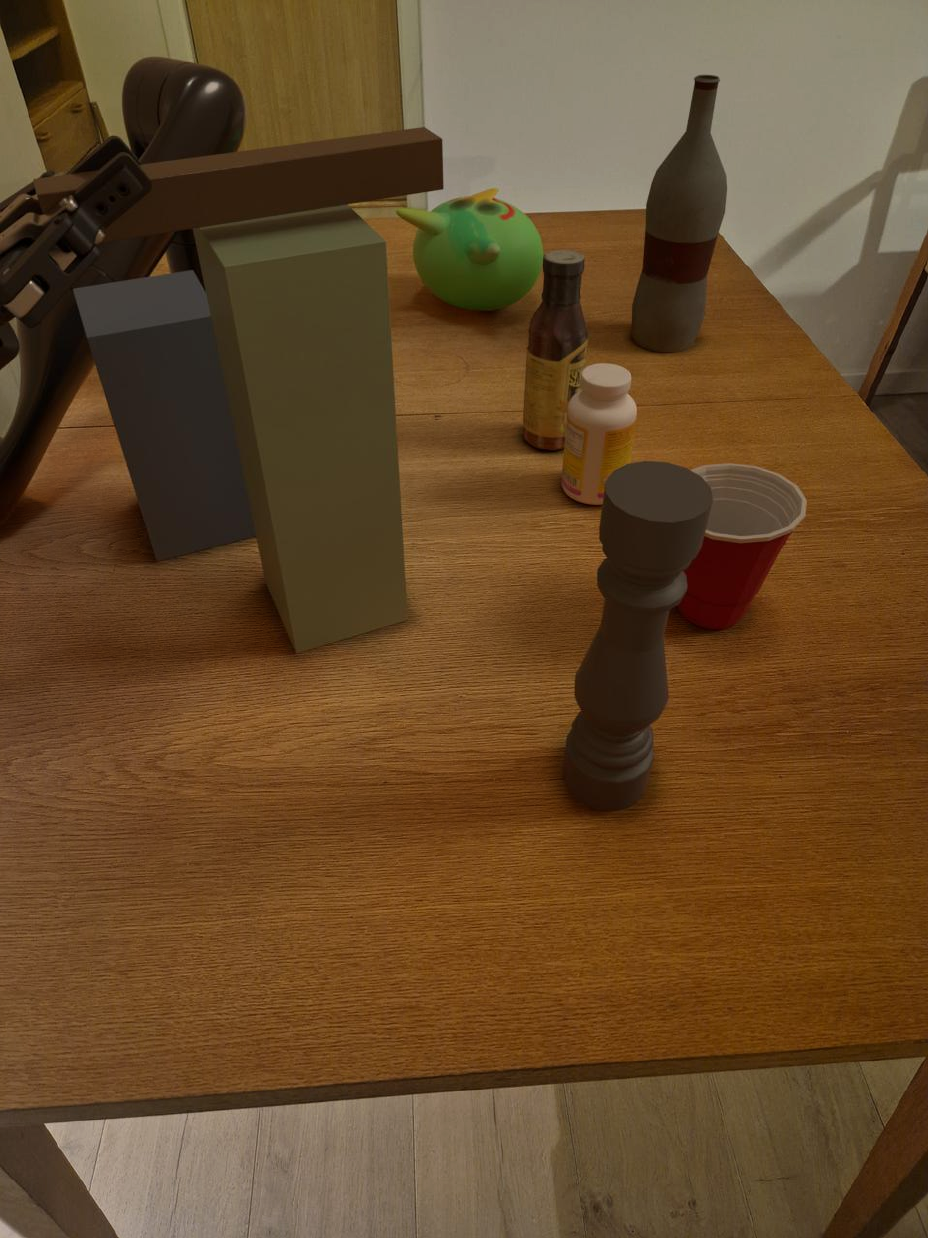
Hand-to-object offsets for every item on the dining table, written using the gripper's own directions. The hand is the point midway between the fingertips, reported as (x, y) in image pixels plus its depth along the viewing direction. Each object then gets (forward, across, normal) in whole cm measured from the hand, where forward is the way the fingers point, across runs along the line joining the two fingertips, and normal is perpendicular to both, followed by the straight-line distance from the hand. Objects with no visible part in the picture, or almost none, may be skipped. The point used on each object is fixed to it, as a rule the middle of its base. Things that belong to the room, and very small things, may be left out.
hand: (134, 159), depth 49 cm
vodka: (+37, -32, -64) cm, 80 cm away
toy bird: (+21, -52, -55) cm, 78 cm away
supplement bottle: (+14, -6, -51) cm, 53 cm away
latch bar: (+4, 0, -6) cm, 7 cm away
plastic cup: (+15, +14, -51) cm, 55 cm away
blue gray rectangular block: (-19, -17, -32) cm, 40 cm away
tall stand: (-11, 0, -36) cm, 38 cm away
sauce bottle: (+15, -16, -51) cm, 56 cm away
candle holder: (-1, +26, -42) cm, 50 cm away
